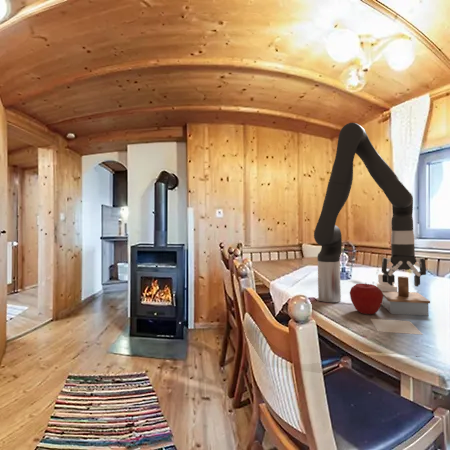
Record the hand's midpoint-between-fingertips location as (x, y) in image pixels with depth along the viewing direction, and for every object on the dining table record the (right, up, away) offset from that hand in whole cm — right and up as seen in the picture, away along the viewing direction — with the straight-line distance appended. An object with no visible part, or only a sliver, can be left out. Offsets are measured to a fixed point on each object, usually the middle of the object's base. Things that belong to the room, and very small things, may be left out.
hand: (403, 285), depth 110 cm
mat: (-13, -10, -17) cm, 24 cm away
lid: (0, -5, 0) cm, 5 cm away
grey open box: (0, -10, 0) cm, 10 cm away
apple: (-15, -10, -2) cm, 18 cm away
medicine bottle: (+1, -10, +13) cm, 17 cm away
